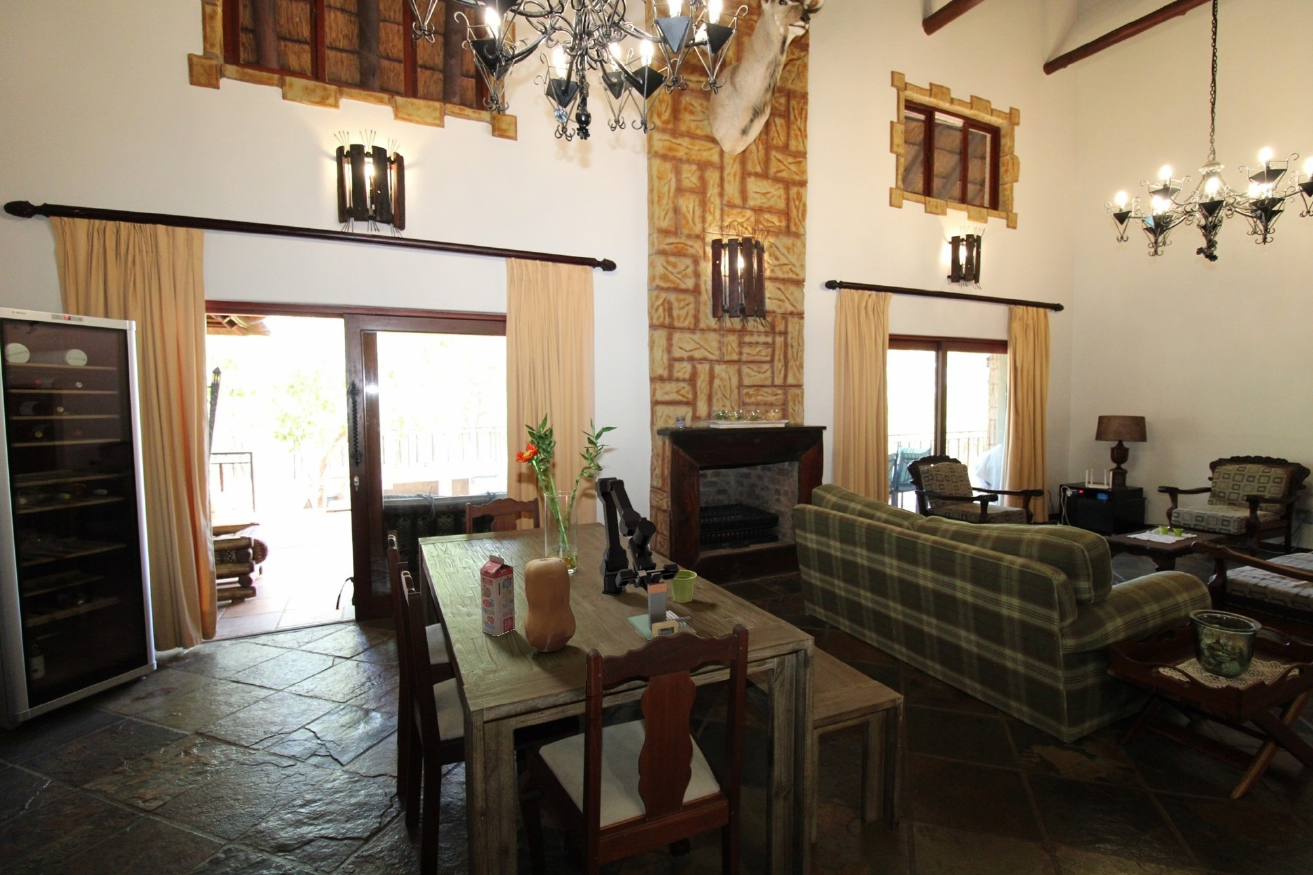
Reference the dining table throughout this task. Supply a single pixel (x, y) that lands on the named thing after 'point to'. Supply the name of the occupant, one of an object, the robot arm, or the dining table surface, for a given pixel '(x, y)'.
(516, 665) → the dining table surface
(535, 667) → the dining table surface
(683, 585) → the plant pot
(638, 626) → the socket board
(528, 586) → the butternut squash
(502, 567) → the juice carton
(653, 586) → the orange-rimmed grey tower
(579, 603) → the dining table surface
